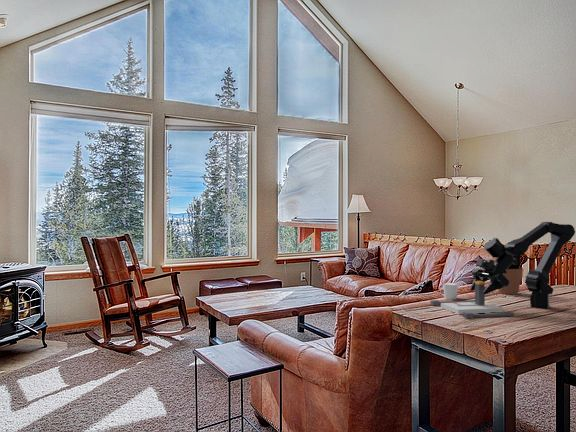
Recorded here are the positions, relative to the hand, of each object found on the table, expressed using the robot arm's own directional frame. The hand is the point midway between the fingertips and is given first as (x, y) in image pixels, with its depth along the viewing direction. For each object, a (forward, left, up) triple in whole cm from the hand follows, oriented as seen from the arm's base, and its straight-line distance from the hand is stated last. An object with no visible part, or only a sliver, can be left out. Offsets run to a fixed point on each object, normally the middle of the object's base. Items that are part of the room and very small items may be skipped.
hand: (477, 291), depth 187 cm
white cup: (+19, -20, -8) cm, 29 cm away
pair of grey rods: (+2, +2, -8) cm, 8 cm away
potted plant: (+1, -52, -8) cm, 53 cm away
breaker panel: (+2, +2, -8) cm, 8 cm away
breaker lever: (-1, -1, -5) cm, 5 cm away
